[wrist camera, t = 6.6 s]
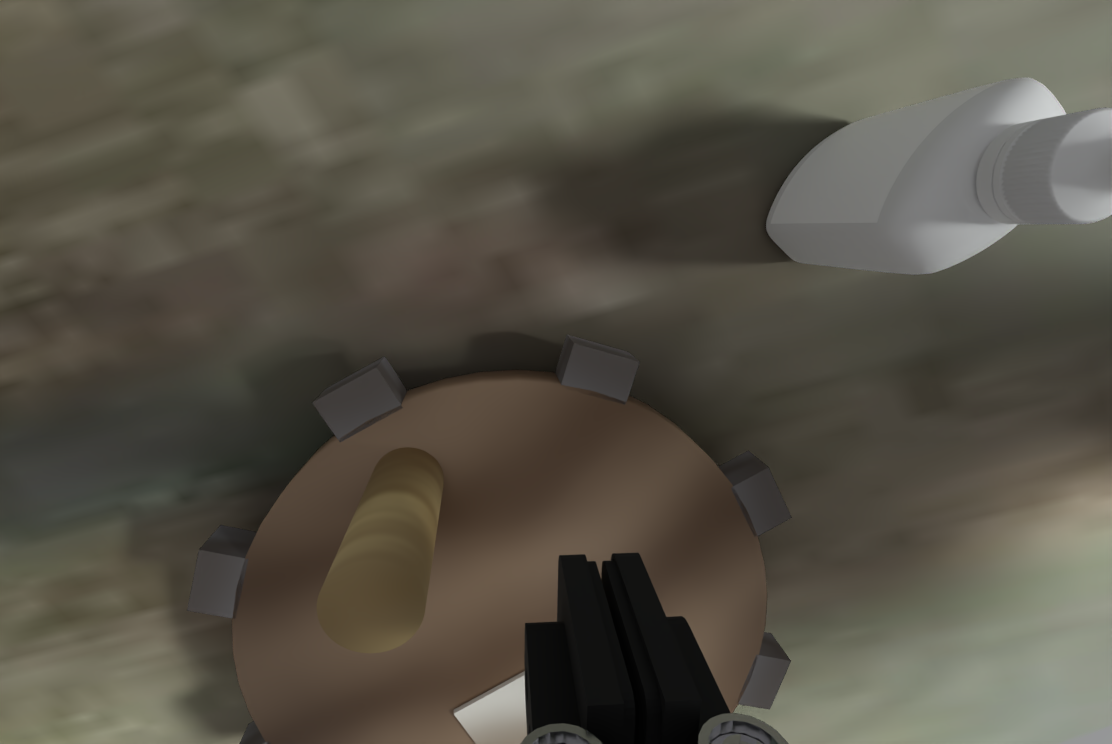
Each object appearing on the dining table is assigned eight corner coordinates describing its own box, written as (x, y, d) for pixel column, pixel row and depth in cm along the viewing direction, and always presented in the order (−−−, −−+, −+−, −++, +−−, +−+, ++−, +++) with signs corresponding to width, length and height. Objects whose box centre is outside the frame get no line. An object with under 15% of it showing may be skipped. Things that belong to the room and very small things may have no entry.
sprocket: (74, 527, 21) (-202, 731, 12) (638, 216, 21) (746, 209, 12) (415, 911, 27) (385, 1221, 19) (852, 673, 27) (1022, 877, 18)
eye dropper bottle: (743, 162, 22) (1025, 94, 11) (879, 111, 22) (1299, -11, 11) (771, 271, 23) (1053, 315, 12) (900, 221, 24) (1300, 217, 12)
